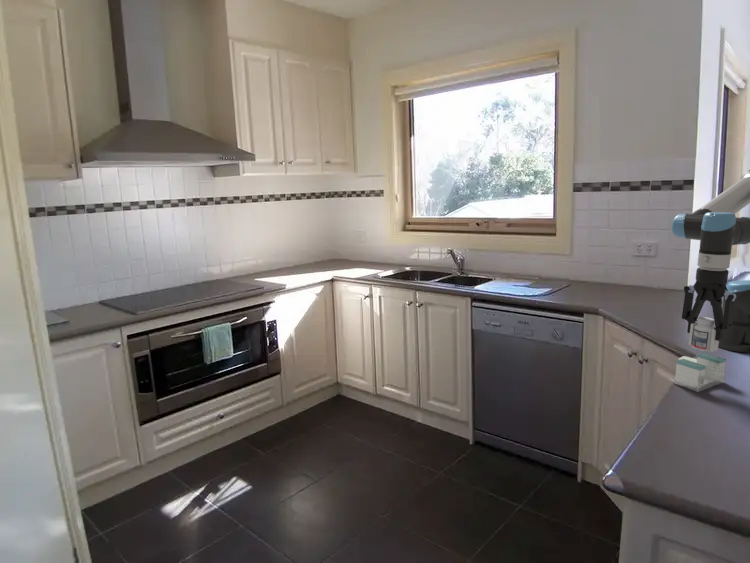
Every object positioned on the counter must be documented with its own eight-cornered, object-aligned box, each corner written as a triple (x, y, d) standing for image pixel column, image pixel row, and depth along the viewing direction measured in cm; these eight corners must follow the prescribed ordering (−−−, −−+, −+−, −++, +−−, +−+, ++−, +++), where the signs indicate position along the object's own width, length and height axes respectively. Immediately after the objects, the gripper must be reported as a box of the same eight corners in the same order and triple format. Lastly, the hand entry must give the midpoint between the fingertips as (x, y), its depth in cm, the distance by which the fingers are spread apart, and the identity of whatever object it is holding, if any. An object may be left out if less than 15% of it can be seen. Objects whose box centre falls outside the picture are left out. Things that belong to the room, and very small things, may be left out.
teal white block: (699, 374, 158) (702, 352, 157) (724, 382, 152) (727, 359, 151) (673, 383, 152) (675, 360, 151) (697, 392, 146) (700, 368, 145)
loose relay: (682, 367, 164) (683, 355, 163) (699, 372, 160) (701, 360, 159) (676, 371, 162) (677, 358, 161) (694, 375, 158) (695, 363, 157)
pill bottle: (705, 345, 153) (709, 316, 151) (717, 351, 147) (721, 321, 146) (687, 345, 152) (691, 316, 150) (699, 351, 147) (703, 321, 145)
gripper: (672, 264, 151) (664, 340, 156) (740, 275, 135) (729, 359, 140) (688, 262, 155) (679, 336, 160) (756, 272, 139) (744, 354, 144)
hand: (702, 347), depth 150 cm, fingers closed on pill bottle, 5 cm apart
